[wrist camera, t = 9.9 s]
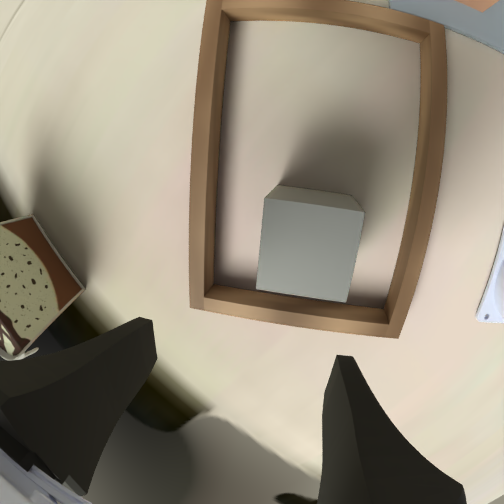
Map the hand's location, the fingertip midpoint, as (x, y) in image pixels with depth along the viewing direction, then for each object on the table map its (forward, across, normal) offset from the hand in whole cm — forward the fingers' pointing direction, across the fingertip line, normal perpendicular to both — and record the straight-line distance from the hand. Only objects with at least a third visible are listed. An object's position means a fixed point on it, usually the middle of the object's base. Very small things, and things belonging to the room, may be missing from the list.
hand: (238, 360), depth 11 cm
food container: (+10, +22, +4) cm, 24 cm away
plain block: (+10, -2, -3) cm, 10 cm away
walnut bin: (+9, -2, -7) cm, 12 cm away
